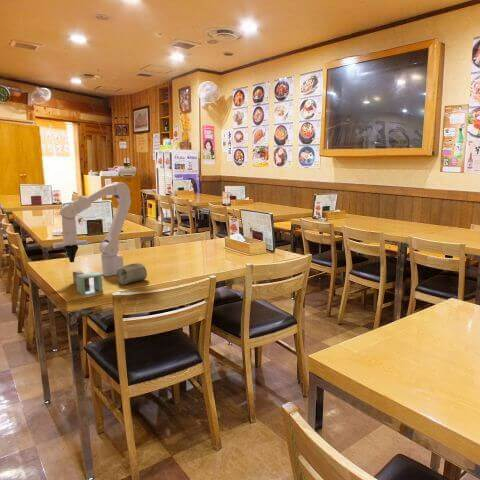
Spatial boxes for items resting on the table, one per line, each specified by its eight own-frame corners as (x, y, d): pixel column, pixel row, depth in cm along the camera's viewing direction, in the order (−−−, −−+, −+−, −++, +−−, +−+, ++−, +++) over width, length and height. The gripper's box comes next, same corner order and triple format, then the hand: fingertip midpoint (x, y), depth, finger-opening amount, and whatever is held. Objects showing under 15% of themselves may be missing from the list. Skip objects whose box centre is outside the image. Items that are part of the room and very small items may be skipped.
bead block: (97, 287, 172) (96, 271, 171) (102, 290, 167) (101, 274, 166) (77, 291, 167) (75, 275, 166) (81, 294, 162) (80, 277, 161)
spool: (122, 280, 170) (121, 258, 173) (112, 286, 176) (112, 265, 180) (151, 282, 179) (150, 261, 182) (141, 288, 185) (140, 267, 189)
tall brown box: (80, 281, 182) (80, 270, 181) (89, 288, 172) (88, 276, 171) (73, 283, 180) (72, 272, 179) (81, 289, 170) (80, 278, 169)
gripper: (54, 234, 174) (57, 265, 176) (89, 231, 183) (91, 261, 185) (50, 232, 179) (53, 263, 182) (84, 229, 188) (86, 258, 190)
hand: (71, 261), depth 184 cm, fingers closed
